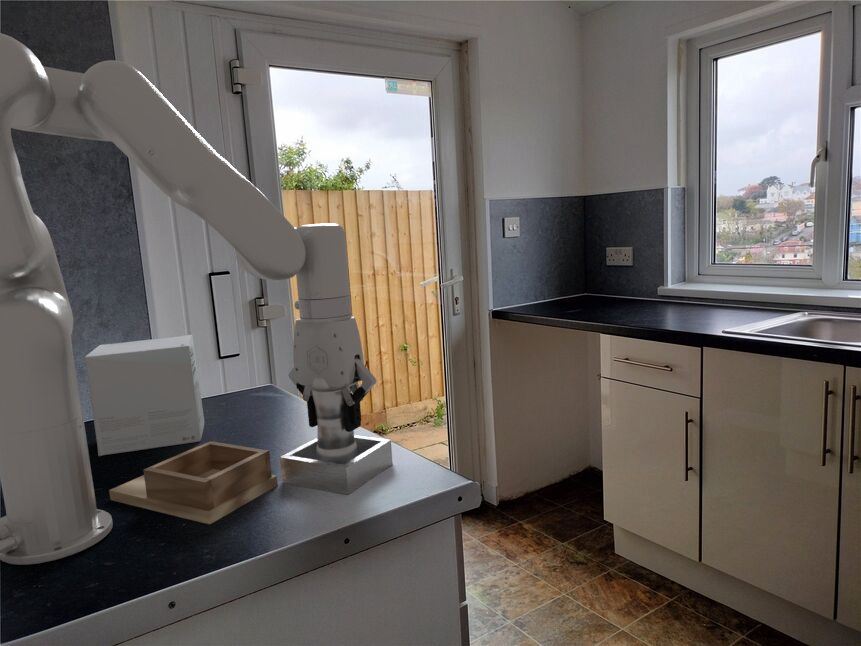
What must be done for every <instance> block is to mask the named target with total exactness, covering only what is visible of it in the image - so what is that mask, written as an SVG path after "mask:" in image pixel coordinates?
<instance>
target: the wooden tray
mask: <svg viewBox="0 0 861 646" xmlns="http://www.w3.org/2000/svg"><path fill="white" fill-rule="evenodd" d="M277 486H278V475H276V474H275V475H274V474H272V466H271V456H270V450H267V449H261V448H257V447H249V446H242V445H237V444H230V443H224V442H217V441H212V440H211V441H207V442H205V443H202V444H201V445H198V446H195V447H193V448H192V449H188V450H186V451H184V452H181V453H179V454H176V455H175V456H172V457H169V458H167V459H165V460H162V461H161V462H158V463H156V464H154V465H152V466H149V467H146V468H144V469H143V475H141V476H139V477H136V478H134V479H131V480H130V481H127V482H125V483H123V484H120V485H117V486H116V487H113V488H111V489H109V490H108V491H109V497H110V498H109V500H110V501H112V502H113V501H114V502H117V503H122V504H125V505H129V506H133V507H138V508H142V509H147V510H149V511H154V512H158V513H160V514H161V513H162V514H166V515H171V516H174V517H178V518H181V519H187V520H190V521H194V522H198V523H203V524H206V525H211V524H213V523H215V522H216V521H219V520H220V519H222V518H223V517H226V516H227V515H229V514H231V513H232V512H234V511H236V510H237V509H239V508H241V507H243V506H244V505H246V504H247V503H250V502H252V501H253V500H255V499H256V498H258V497H260V496H262V495H264V494H265V493H267V492H269V491H271V490H272V489H274V488H276V487H277Z"/></svg>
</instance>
